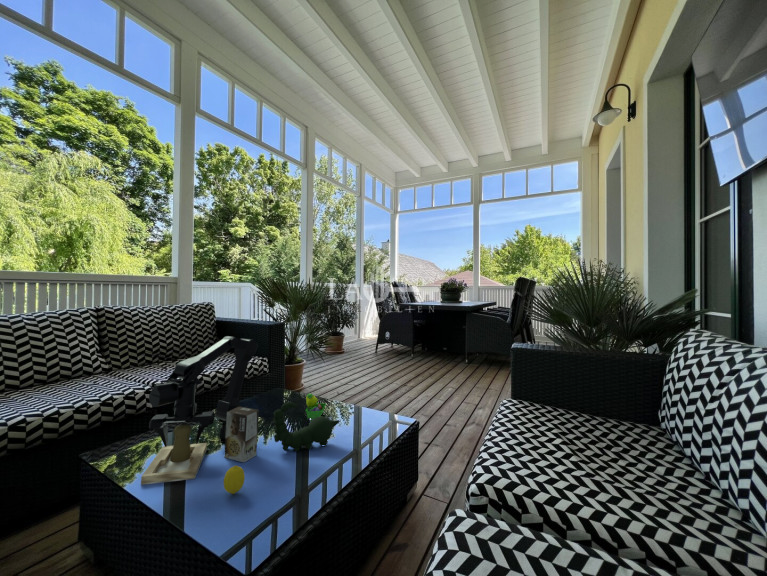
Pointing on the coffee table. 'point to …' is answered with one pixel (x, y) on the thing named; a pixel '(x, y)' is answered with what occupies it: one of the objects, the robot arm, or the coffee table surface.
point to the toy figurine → (302, 430)
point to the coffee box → (241, 434)
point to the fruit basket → (314, 407)
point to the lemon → (234, 479)
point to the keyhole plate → (174, 466)
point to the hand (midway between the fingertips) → (181, 445)
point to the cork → (181, 443)
